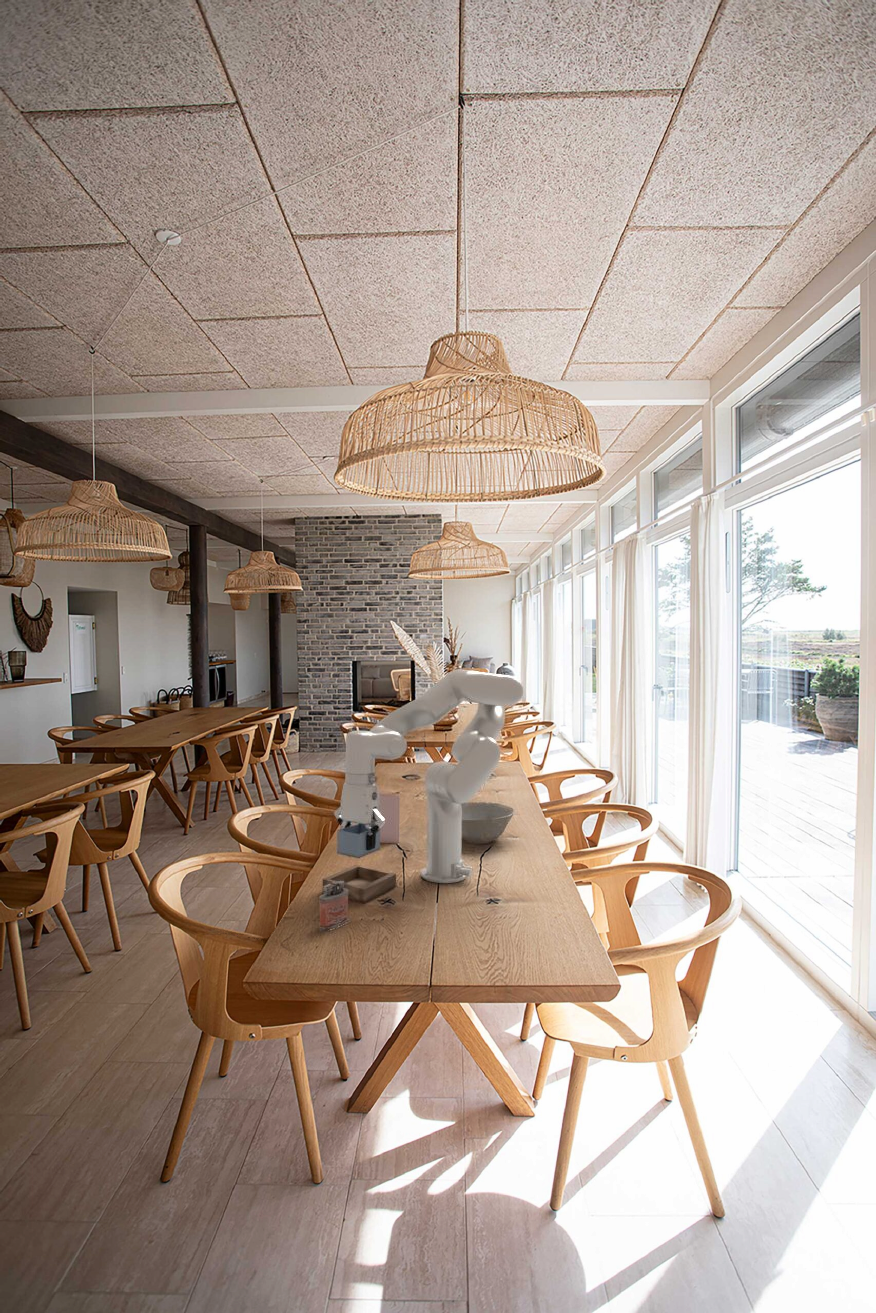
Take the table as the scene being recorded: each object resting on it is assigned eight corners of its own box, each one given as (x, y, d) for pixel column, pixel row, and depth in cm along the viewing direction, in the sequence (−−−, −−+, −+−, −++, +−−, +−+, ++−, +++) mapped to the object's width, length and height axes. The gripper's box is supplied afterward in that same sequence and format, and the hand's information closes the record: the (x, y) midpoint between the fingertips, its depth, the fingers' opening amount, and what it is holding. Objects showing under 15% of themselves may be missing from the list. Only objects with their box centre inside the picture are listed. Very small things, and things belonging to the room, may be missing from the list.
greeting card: (400, 841, 229) (401, 795, 229) (386, 847, 223) (386, 800, 223) (373, 835, 236) (373, 790, 235) (358, 841, 230) (358, 795, 229)
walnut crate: (396, 886, 189) (396, 873, 189) (364, 903, 178) (364, 889, 178) (355, 877, 196) (355, 864, 196) (322, 892, 185) (322, 879, 185)
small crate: (379, 849, 189) (380, 826, 188) (358, 858, 181) (358, 834, 181) (358, 844, 192) (359, 822, 192) (337, 853, 185) (337, 830, 184)
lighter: (341, 918, 169) (341, 876, 168) (351, 921, 167) (351, 879, 166) (315, 928, 162) (315, 885, 162) (325, 933, 160) (325, 888, 160)
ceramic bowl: (435, 846, 225) (435, 815, 224) (457, 827, 246) (457, 799, 246) (504, 854, 218) (504, 822, 217) (520, 834, 239) (520, 804, 239)
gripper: (395, 780, 185) (394, 848, 185) (343, 772, 194) (342, 837, 194) (378, 785, 178) (376, 856, 179) (324, 776, 187) (323, 844, 188)
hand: (358, 846), depth 187 cm, fingers closed on small crate, 7 cm apart
